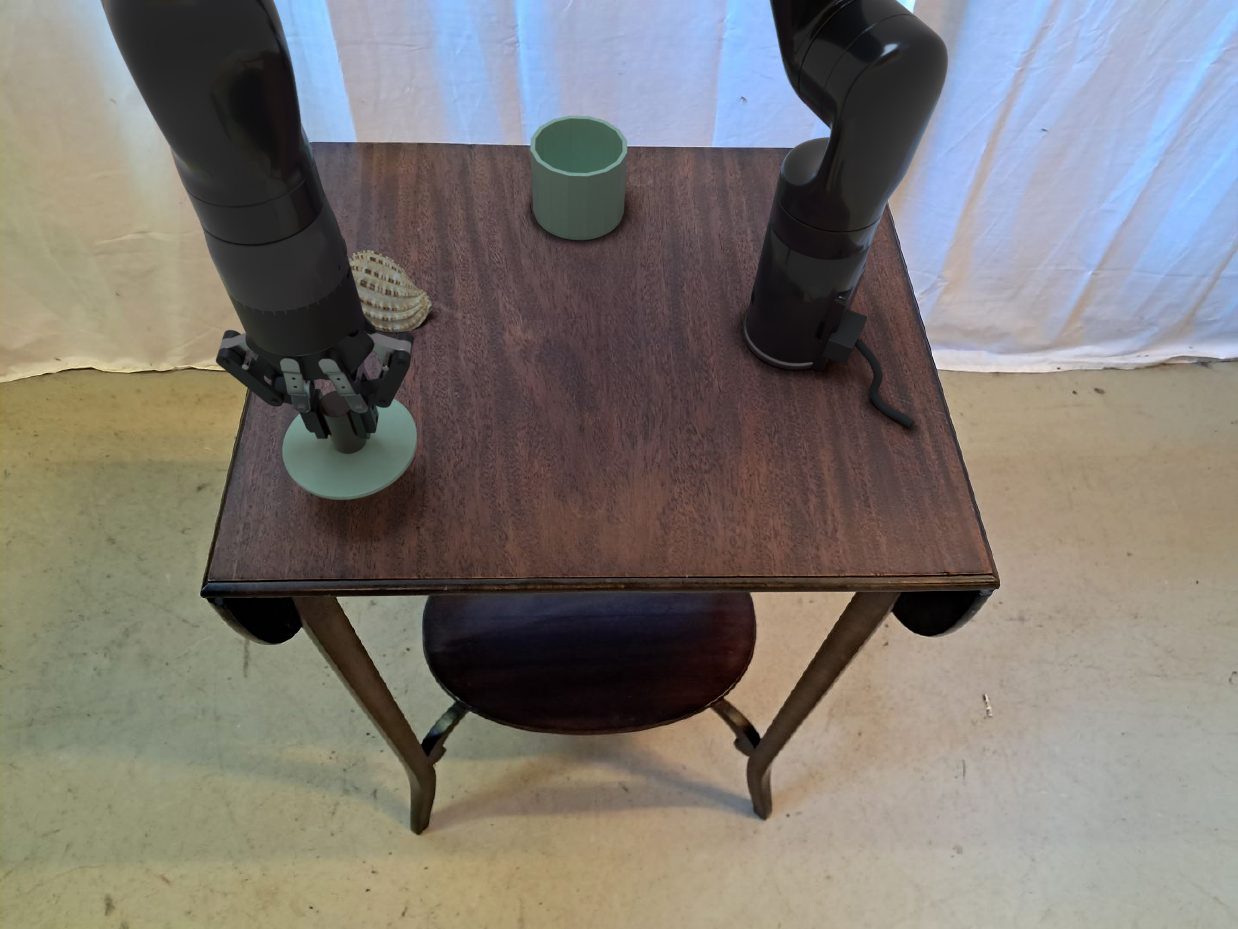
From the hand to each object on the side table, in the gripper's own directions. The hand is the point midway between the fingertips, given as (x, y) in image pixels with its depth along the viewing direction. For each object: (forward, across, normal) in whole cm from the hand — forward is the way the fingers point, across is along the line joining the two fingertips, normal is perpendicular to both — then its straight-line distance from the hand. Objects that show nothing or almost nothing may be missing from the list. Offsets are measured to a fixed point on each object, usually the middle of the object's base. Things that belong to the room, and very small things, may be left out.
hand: (346, 429), depth 68 cm
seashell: (+10, -2, +22) cm, 24 cm away
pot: (+10, +18, +38) cm, 43 cm away
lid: (+2, 0, 0) cm, 2 cm away
